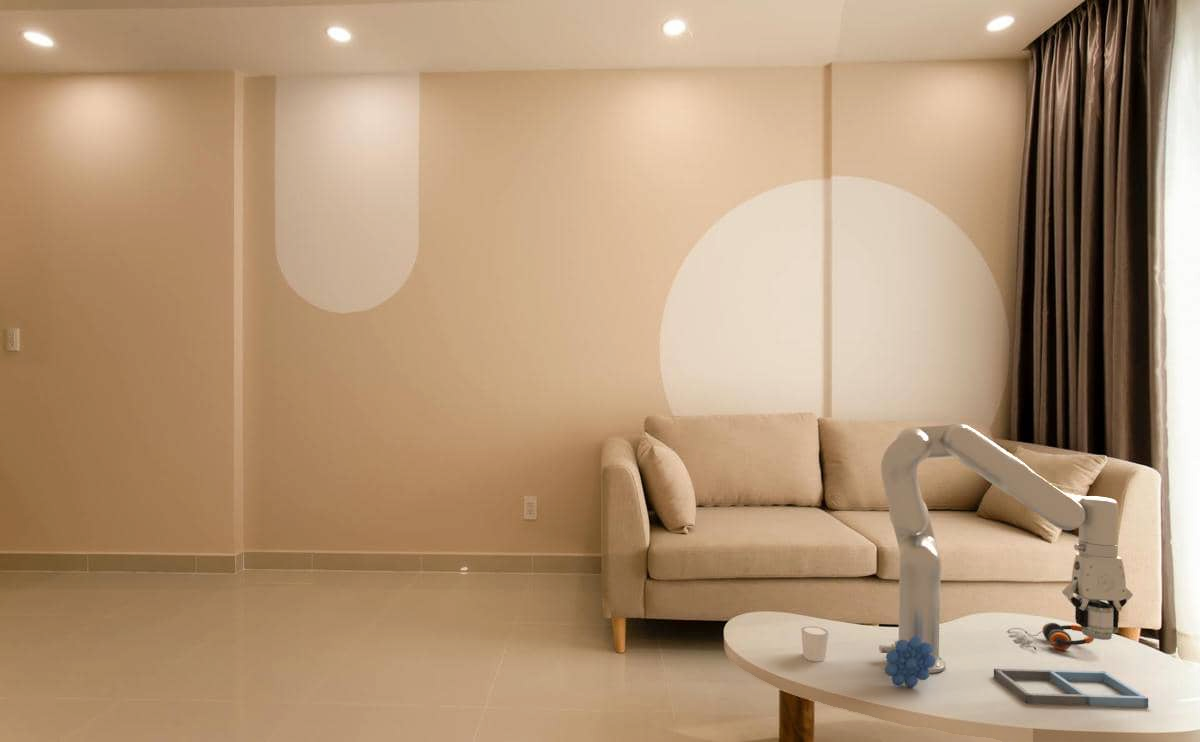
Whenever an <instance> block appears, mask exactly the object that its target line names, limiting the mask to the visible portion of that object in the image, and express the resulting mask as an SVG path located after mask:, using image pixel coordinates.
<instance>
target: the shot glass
mask: <svg viewBox="0 0 1200 742" xmlns="http://www.w3.org/2000/svg"><path fill="white" fill-rule="evenodd" d="M800 630H801V631H800V633H801V642H802V643H801V644H802V654H803V655H802V656H804V657H805V658H806V659H805V658H804V657H803V658H804V659H805V660H807V659H808V660H807V661H809V660H812V661H811V662H813V661H822V662H824V661H823V660H825V659H826V660H827V651H828V643H829V634H830V633H829V630H827V629H826V628H822V627H821V626H820V627H818V626H811V625H810V626H809V625H808V626H803V627H802V628H801V629H800ZM826 660H825V661H826Z"/></svg>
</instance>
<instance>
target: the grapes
mask: <svg viewBox="0 0 1200 742" xmlns="http://www.w3.org/2000/svg"><path fill="white" fill-rule="evenodd" d="M898 640H899V639H898ZM898 640H897V641H898ZM895 647H896V650H890V651H889V652H888V653H886V655H885V658H886V661H887V662H888V663H887V664H886V665H885V667H884V673H885V674H886V675H887V676H888V677H891V681H892V683H893V684H894V685H895V686H902V685H903V684H904V685H905V686H906V687H908V688H913V687H915V686H916V685H917V684H918V682H919V681H926V680H927V679H928V678H929V677H930V675H931V673H930V672H929V669H928V668H931V667H932V666H933V665H934V664H935V658H934V656H933V655H929V654H930V653H931V652H932V646H931V644H929V643H922V642H921V639H920V638H919V637H912V638H911V639H910V640H909V642H907V641H906V640H902V639H901V640H899V641H898V642H897V643H896V645H895Z"/></svg>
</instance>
